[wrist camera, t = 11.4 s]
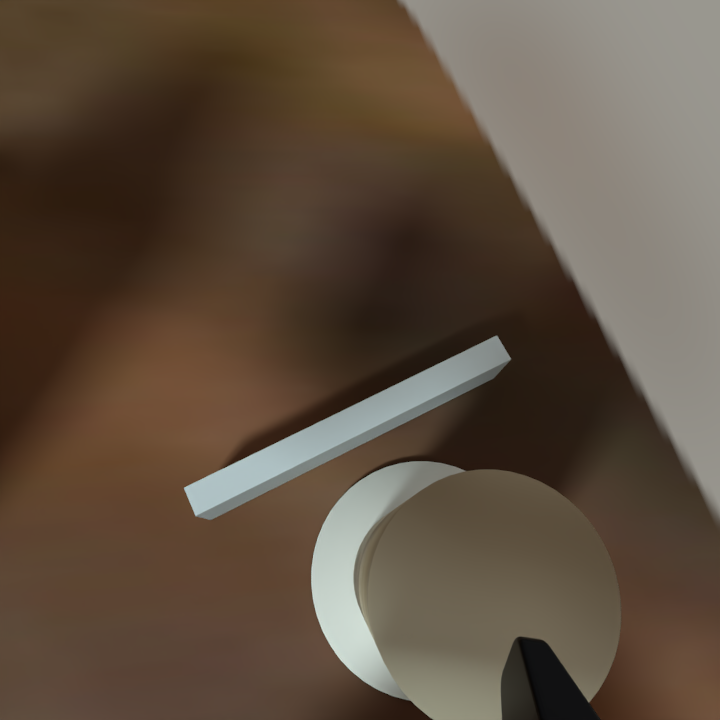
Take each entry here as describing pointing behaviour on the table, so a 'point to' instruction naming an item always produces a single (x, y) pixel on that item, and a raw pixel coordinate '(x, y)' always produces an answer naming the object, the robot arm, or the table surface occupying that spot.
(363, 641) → the pad
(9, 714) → the table surface
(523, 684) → the robot arm
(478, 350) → the acrylic wall
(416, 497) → the birch cylinder
